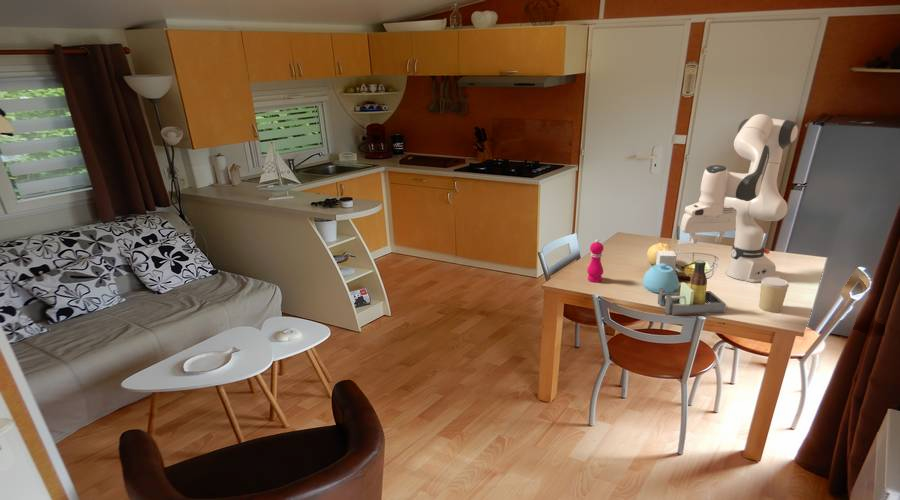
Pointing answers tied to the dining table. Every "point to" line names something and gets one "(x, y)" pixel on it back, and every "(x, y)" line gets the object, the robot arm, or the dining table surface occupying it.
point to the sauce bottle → (699, 282)
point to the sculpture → (653, 252)
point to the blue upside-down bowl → (661, 279)
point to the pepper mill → (595, 262)
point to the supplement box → (666, 258)
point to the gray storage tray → (686, 309)
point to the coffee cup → (772, 294)
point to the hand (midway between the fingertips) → (705, 242)
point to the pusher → (685, 294)
